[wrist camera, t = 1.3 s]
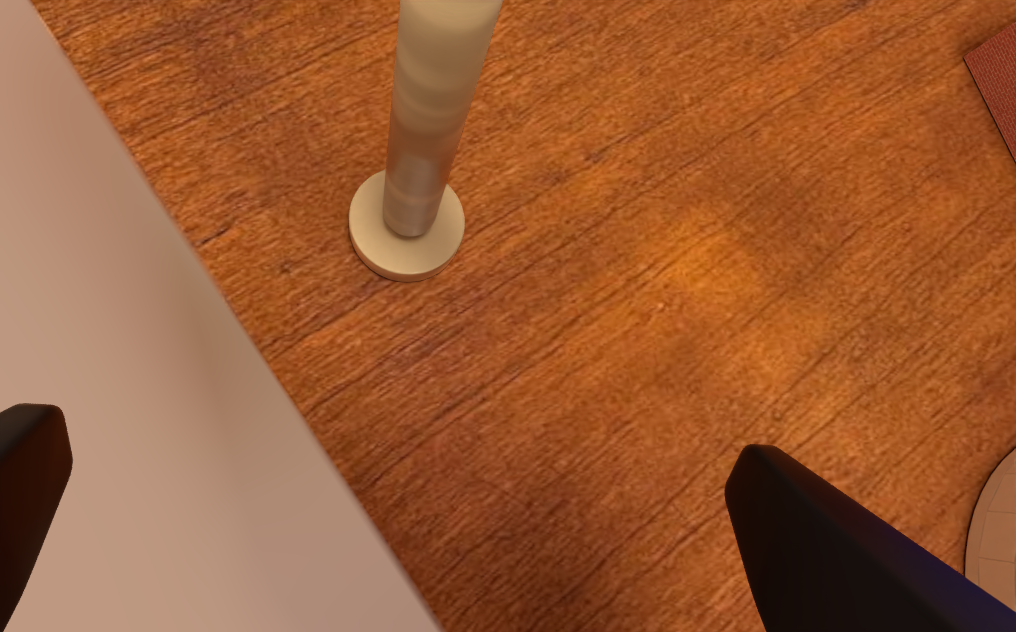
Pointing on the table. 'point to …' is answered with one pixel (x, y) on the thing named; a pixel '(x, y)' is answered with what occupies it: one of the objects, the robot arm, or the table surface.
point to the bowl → (995, 535)
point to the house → (998, 80)
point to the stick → (423, 140)
